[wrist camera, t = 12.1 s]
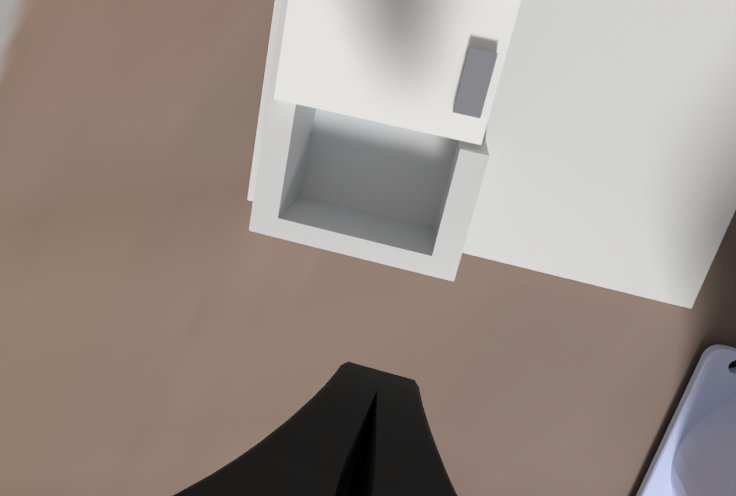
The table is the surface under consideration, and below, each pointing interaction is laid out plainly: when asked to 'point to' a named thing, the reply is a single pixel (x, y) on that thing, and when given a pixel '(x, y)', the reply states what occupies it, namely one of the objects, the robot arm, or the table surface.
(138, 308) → the table surface
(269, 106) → the white storage tray
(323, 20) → the cover
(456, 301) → the table surface
